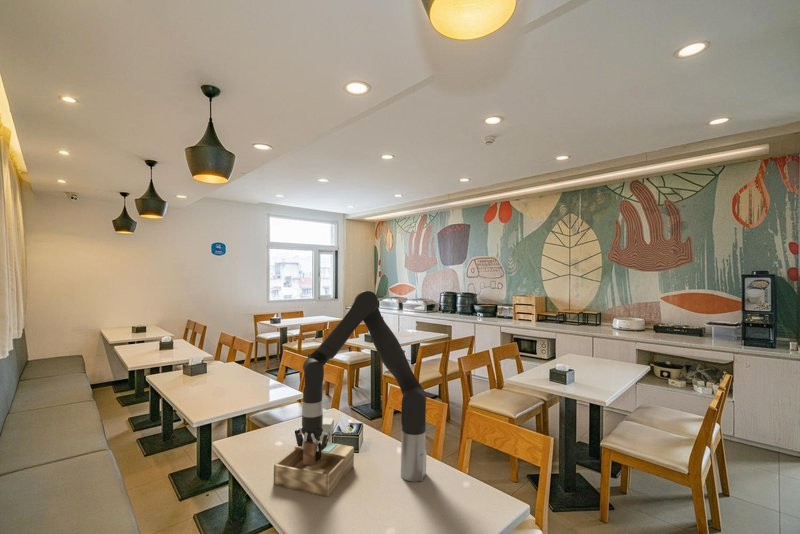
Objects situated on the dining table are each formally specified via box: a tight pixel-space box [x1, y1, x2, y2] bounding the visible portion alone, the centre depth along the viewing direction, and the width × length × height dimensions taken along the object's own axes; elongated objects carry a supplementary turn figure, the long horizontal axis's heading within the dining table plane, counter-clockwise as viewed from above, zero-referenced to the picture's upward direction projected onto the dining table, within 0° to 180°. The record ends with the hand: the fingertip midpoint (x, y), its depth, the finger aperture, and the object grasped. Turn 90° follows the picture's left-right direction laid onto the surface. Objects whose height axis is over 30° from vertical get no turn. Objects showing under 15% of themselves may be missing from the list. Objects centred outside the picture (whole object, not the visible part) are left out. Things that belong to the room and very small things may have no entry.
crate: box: [273, 441, 355, 498], centre depth 137 cm, size 22×21×8 cm
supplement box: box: [320, 417, 335, 443], centre depth 156 cm, size 7×7×13 cm
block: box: [303, 440, 320, 465], centre depth 133 cm, size 4×4×8 cm
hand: (311, 458), depth 133 cm, fingers closed on block, 4 cm apart
